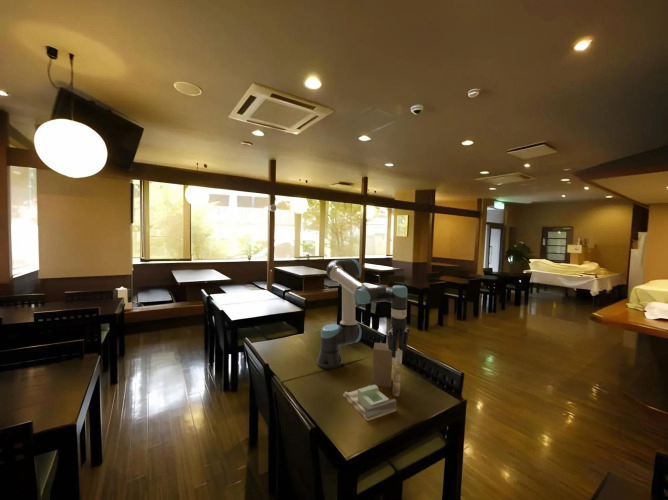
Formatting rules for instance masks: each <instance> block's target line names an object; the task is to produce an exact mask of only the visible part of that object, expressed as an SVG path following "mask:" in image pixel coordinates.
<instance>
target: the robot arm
mask: <svg viewBox="0 0 668 500" xmlns="http://www.w3.org/2000/svg"><path fill="white" fill-rule="evenodd" d="M361 274H362V266H361V264H360V262H359V261H358V260H357V259H354V258H353V259H351V258H348V259H333V260H331V261H330V262H328V264H327V266H326V275H327V277H328V278H329V279H330V280H331V281H334V282H337V283H338V284H339V285H341V320H340V321H339V324H336V323H333V324H332V323H330V324H327V325H324V326H323V327H322V328H321V330H320V351H319V354H318V358H317V362H316V363H317V365H318V366H319V368H320V367H321V368H322V369H326V370H327V369H329V370H331V369H337V368H340V367H341V365H342V362H343V360H342V356H341V353H340V346H344V345H349V344H350V345H351V344H354V343H358V342H359V341H360V340H361V339H362V333H363V332H362V330H363V329H362V328H361V325H360V324H359V322H358V321H357V320H356V303H357V304H359V305H367V304H372V303H381V302H387V303H390V304H391V305H390V306H391V308H390V310H391V312H390V315H391V317H390V324H391V327H390V329H389V330H386V333H385V334H386V335H387V344H388V349H389V350H391V351H392V364H394V365H395V366H398V363H399V365H400V364H403V362H402V361H403V355H404V351H406V348H407V346H408V338H409V333H410V330H411V329H410V328H408V327H406V326H407V316H408V315H407V311H408V296H409V295H408V288H407V286H405V285H399V284H396V285H392V287H390V286H387V285H378V286H377V287H368V286H367V285H364V284H363V283H362V282H361V281H360V280H358V279H359V277H360V276H361ZM397 346H398V347H397Z"/></svg>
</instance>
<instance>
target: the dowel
mask: <svg viewBox="0 0 668 500" xmlns="http://www.w3.org/2000/svg"><path fill="white" fill-rule="evenodd" d="M392 369H393V370H392V371H393V372H392V396H393V397H396V398H397V397H398V398H399V397H400V395H401V394H400V393H401V370H402V367H401V366H398V365H394V366H392Z"/></svg>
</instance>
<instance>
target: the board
mask: <svg viewBox="0 0 668 500" xmlns="http://www.w3.org/2000/svg"><path fill="white" fill-rule="evenodd" d="M368 386H371V385H367V387H368ZM342 397H343V398H344V399H345V400H346V401H347V402H348V403H349V404H350V405H351V406H352V407H353V408H354V409H355V410H356V411H357V412H358V413H359V414H360V415H361V416H362V418H364V420H366V421H367V422H369V421H372V420H375V419H377V418H381V417H384V416H387V415H389V414H392V413H394V412H397V400H396V398H393V399H389V401H386V402H383V403H380V404H377V405H373V406H370V407H367V408H366V409H365V408H364V407H363V406H362V405H361V404H360V403H359V402H358V401H357V400H358V389H355V390H352V391H350V392H347V391H344V393H343V394H342Z"/></svg>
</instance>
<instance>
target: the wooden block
mask: <svg viewBox="0 0 668 500" xmlns="http://www.w3.org/2000/svg"><path fill="white" fill-rule="evenodd" d="M372 351H373V352H372V353H373V354H372V373H371V374H372V375H371V376H372V380H371V385H376V386H378V387H384V388H391V387H392V377H393V372H392V371H393V370H392V369H393V363H392V359H393V357H392V351H391V350H389V349H388V343H383V342H374V345H373V349H372Z"/></svg>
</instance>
